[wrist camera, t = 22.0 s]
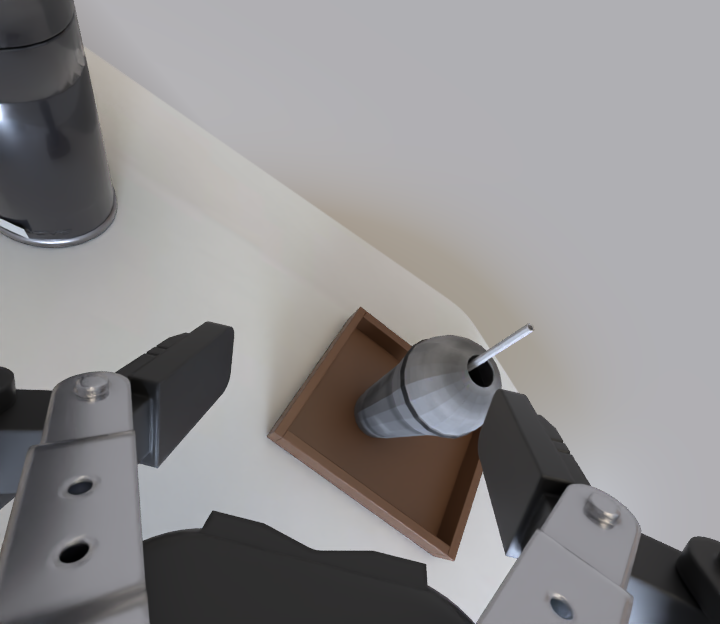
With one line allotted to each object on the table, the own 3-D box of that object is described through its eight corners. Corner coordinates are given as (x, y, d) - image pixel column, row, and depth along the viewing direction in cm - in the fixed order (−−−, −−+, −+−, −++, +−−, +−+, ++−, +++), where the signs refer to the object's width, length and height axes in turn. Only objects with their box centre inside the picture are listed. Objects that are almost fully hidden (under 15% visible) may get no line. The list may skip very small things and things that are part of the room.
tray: (266, 436, 33) (274, 431, 30) (348, 318, 41) (360, 306, 38) (433, 556, 34) (454, 561, 32) (481, 419, 42) (500, 414, 40)
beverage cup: (344, 457, 34) (503, 422, 17) (336, 377, 37) (468, 281, 20) (413, 450, 37) (606, 413, 20) (402, 376, 40) (562, 292, 23)
